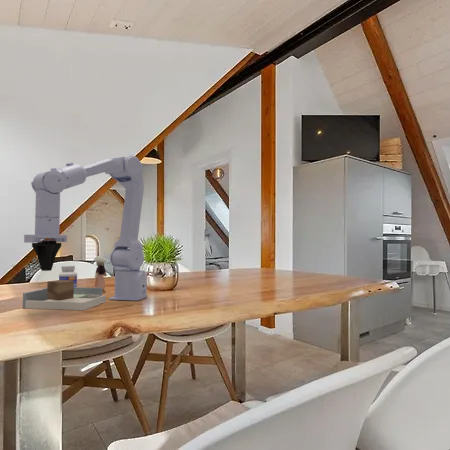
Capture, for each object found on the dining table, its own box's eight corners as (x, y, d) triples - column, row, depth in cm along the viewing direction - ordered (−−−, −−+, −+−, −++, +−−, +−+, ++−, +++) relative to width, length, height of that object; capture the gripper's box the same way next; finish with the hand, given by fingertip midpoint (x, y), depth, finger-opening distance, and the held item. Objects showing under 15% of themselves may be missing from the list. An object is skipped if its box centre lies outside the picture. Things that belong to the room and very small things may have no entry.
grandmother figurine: (96, 290, 131) (97, 255, 131) (108, 290, 131) (108, 255, 131) (90, 294, 123) (91, 256, 123) (102, 294, 123) (103, 256, 124)
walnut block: (73, 297, 104) (73, 280, 104) (58, 300, 100) (58, 282, 100) (62, 296, 106) (62, 279, 106) (47, 298, 102) (47, 281, 102)
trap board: (106, 301, 110) (106, 288, 110) (83, 310, 96) (83, 295, 97) (52, 299, 112) (52, 286, 112) (22, 308, 99) (23, 293, 99)
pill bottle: (70, 297, 117) (70, 266, 117) (54, 296, 118) (55, 266, 118) (80, 294, 122) (80, 265, 123) (65, 293, 123) (66, 264, 124)
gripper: (51, 219, 103) (49, 267, 103) (13, 216, 89) (11, 272, 88) (74, 219, 102) (73, 268, 102) (39, 216, 88) (38, 273, 87)
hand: (46, 270), depth 95 cm, fingers closed
